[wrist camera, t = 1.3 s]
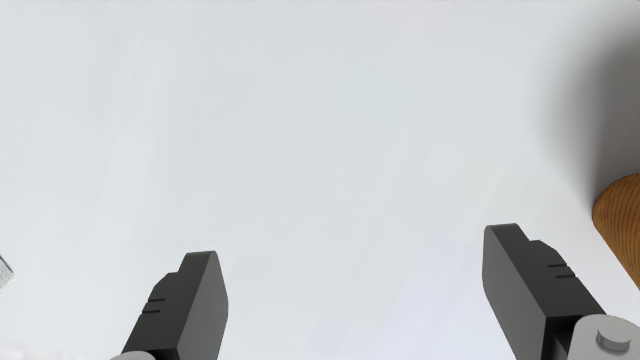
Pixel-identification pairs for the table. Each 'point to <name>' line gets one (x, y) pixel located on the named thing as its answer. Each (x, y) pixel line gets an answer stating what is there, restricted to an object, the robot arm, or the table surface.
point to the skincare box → (4, 275)
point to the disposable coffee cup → (621, 222)
